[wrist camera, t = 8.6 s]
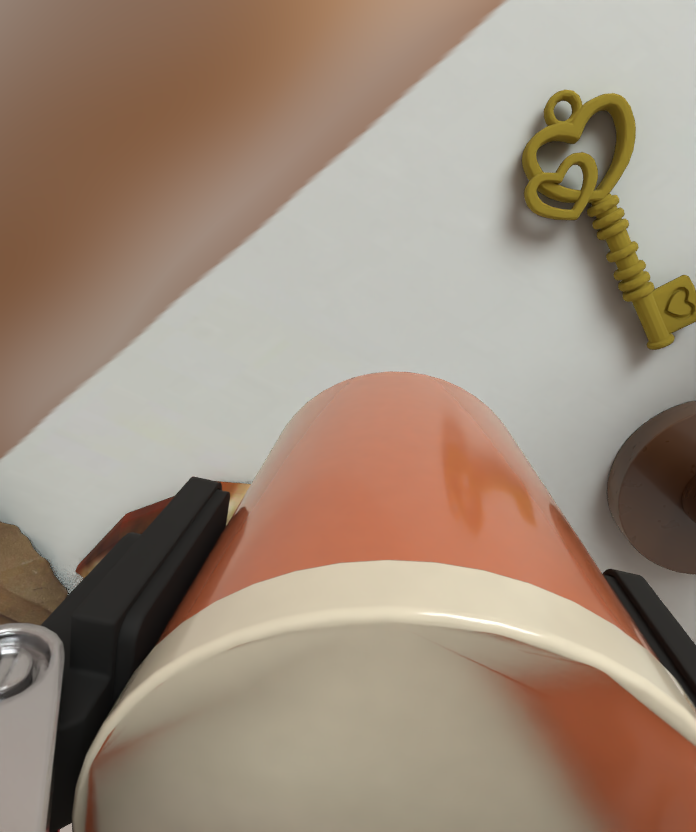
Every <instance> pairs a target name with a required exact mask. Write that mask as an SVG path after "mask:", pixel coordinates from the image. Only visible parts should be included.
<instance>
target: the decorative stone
mask: <svg viewBox="0 0 696 832" xmlns="http://www.w3.org/2000/svg"><path fill="white" fill-rule="evenodd" d="M216 482H219V481H216ZM220 483H221V484H222V490H223V491H227V492H230V501H229V508H228V515H227V522H226V526H227V524H228V522H229V521H230V519H231V517H232V515H233V514H234V512H235V510H236V509H237V507H238V505H239V504H240V502H241V500H242V499H243V497H244V495H245V494H246V492H247V490H248V489H249V487H250V485H251V484H243V483H231V482H220ZM174 497H175V496H174ZM174 497H171V498H168V499H165V500H163V501H160V502H157V503H154V504H152V505H149V506H146V507H144V508H141V509H138V510H135V511H133V512H130V513H127V514H126V515H125V516H124V517H123V518H122V519H121V520H120V521H119V522H118V523H117V524H116V525H115V526H114V527H113V528H112V529H111V531H110V532H109V533H108V534H107V535H106V536H105V537H104V538H103V539H102V540H101V541H100V542H99V543H98V544H97V545H96V546H95V548H94V549H93V550H92V551H91V552H90V553H89V554H88V555H87V556H86V557H85V558H84V559H83V560H82V561H81V562H80V563H79V565H78V566H77V569H76V571H75V572H77V573H78V574H79V575H81V576H82V577H83V578H85V577H86V576H87V575H88V574H89V573H90V572H91V571H92V570H93V568H94V567H95V566H96V565H97V564H98V563H99V562H100V561H101V560H102V559H103V558H104V557H105V556H106V555H107V553H108V552H109V551H110V550H111V549H112V548H113V547H114V546H115V545H116V544H117V543H118V542H119V541H120V540H121V538H122V537H124V536H125V535H126V534H127V533H131V532H133V533H138V534H142V533H143V532H144V531H145V530H146V529H147V527H148V526H149V525H150V524H151V523H152V522H153V521H154V519H155V518H156V517H157V516H158V515H159V514H160V513H161V511H162V510H163V509H164V508H165V507H166V506H167V505H168V503H169V502H170V501H171V500H172V499H173V498H174Z"/></svg>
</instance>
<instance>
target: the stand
mask: <svg viewBox="0 0 696 832" xmlns="http://www.w3.org/2000/svg"><path fill="white" fill-rule="evenodd" d="M607 497H608V505H609V508H610V512H611V515H612V517H613V519H614V521H615V523H616V524H617V526H618V527H619V529H620V530H621V532H622V533H623V534H624V535H625V537H626V538H627V539H628V540H629V542H630V543H631V544H632V545H633V546H634V547H635V549H636V550H637V551H638V552H639V553H641V554H642V555H643V556H644V557H646V558H647V559H648V560H650V561H652V562H653V563H655V564H657V565H659V566H662V567H664V568H666V569H669V570H673V571H676V572H681V573H687V574H696V401H691V402H687V403H684V404H680V405H677V406H675V407H672V408H670V409H668V410H666V411H663V412H662V413H660V414H658V415H656V416H655V417H653V418H651V419H650V420H649V421H647V422H646V423H645V424H643V425H642V426H641V427H640V428H638V429H637V430H636V431H635V432H634V433H633V434H632V435H631V436H630V437H629V439H628V440H627V441H626V442H625V443H624V445H623V446H622V448H621V449H620V451H619V452H618V454H617V456H616V458H615V460H614V462H613V465H612V468H611V470H610V473H609V479H608V485H607Z"/></svg>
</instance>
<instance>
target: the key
mask: <svg viewBox="0 0 696 832" xmlns="http://www.w3.org/2000/svg"><path fill="white" fill-rule="evenodd" d="M560 101H567V102H568V103H569V104H570V105H571V108H572V114H571V116H570V117H569V119H568V120H566V121H559V120H557V119H556V117H555V115H554V112H553V110H554V107H555V105H556V104H557V103H558V102H560ZM605 110H606V111H608V112H609V113H610V115H611V116H612V118H613V121H614V124H615V128H616V146H615V151H614V156H613V159H612V163H611V165H610V167H609V169H608V171H607V173H606V175H605V176H604V178H603V179H602V181H601V182H600V184H599V185H598V187H597V188H596V190H594V189H595V186H596V183H597V179H598V169H597V166H596V163H595V160H594V159H593V158H592V157H591V156H590V155H589V154H586V153H583V152H581V153H573V154H571V155H570V156H568V157H567V158H566V159H564V161H563V162H562V163H561V164H560V166H559V168H558V169H557V171H556V173H544V172H543V171H542V170H541V168H540V166H539V164H538V162H537V159H536V153H537V150H538V149H539V148H540V147H541V146H542V145H544V144H546V143H548V142H553V141H559V142H566V143H570V144H575V143H576V142H577V141H578V140H579V139H580V137H581V134H582V132H583V129H584V127H585V125H586V123H587V122H588V120H589V119H590V118H591V117H592V116H593V115H594V114H595V113H597V112H599V111H605ZM544 119H545V122H546V124H547V125H548V126H547V127H545V128H544V129H542V130H541V131H539V132H538V133H537V134H535V135H534V136H533V137H532V139H531V140H530V141H529V142H528V143H527V145H526V147H525V149H524V151H523V155H522V166H523V169H524V172H525V174H526V176H527V178H528V180H529V182H528V184H527V186H526V187H525V191H524V198H525V202H526V204H527V206H528V207H529V209H530V210H531V211H532V212H533V213H535V214H537V215H539V216H542V217H545V218H550V219H555V220H577V219H578V218H579V216H580V214H581V213H582V211H583V210H584V208H585V207H586V205H587V203H591V205H592V206H591V207H590V208H588V209H587V214H588V216H589V217H594V216H596V218H597V219H595V220H594V221H593V223H592V225H593V228H594V229H596V230H597V229H601V230H599V231H598V232H597V238H598V239H599V240H606V242H607V244H608V247H609V249H610V252H608V253H607V255H606V258H607V261H608V262H615V263H616V265H617V268H618V269H617V270H616V271H615V272H614V274H613V276H614V279H616V280H622V281H621V282H620V283H618V288H619V290H620V291H622V292H624V291H625V292H624V293H623V299H624V300H625V301H627V302H631V301H632V303H633V305H634V308H635V310H636V312H637V315H638V317H639V319H640V322H641V324H642V326H643V329H644V331H645V333H646V336H647V338H648V340H649V341H648V343H647V348H649V349H651V350H657V349H661V348H664V347H666V346H668V345H670V344H671V343H673V341H674V338H675V337H674V336H673V334H671V333H673V332H675V331H677V330H679V329H681V328H683V327H686V326H688V325H690V324H692V323H694V322H696V290H695V287H694V285H693V283H692V282H691V280H690V278H689V276H686V275H682V276H680V277H678V278H676V279H674V280H672V281H670V282H668V283H666V284H664V285H662V286H660V287H658V288H656V289H654V285H653V283H652V282H648V281H649V280H650V275H649V273H648V272H646V271H643V270H644V269H645V268H646V264H645V262H644V261H643V260H638V257H637V255H636V251H637V249H638V244H637V243H636V242H635V241H633V242H631V240H630V238H629V235H628V233H627V230H626V228H628V226H629V222H628V220H626V219H622V217H623V216H624V214H625V213H624V210H623V209H622V208H618V209H617V206H616V205H617V204H618V203H619V198H618V196H617V195H612V196H611V194H610V192H611V190H612V189H613V187H614V186H615V185H616V183H617V182H618V180H619V179H620V177H621V175H622V174H623V172H624V170H625V169H626V167H627V165H628V163H629V161H630V158H631V155H632V152H633V149H634V143H635V133H636V127H635V120H634V116H633V113H632V110H631V107H630V105H629V104H628V102H627V101H626V100H625V98H623V97H622V96H621V95H618V94H614V93H612V94H603V95H600V96H598V97H595V98H593V99H591V100H590V101H588V102H586V103H585V104H584V105H583V106H582V101H581V99H580V96H579V95H578V94H576V93H575V92H574V91H571V90H562V91H559V92H557V93H555V94H554V95H553V96H552V97H551V98H550V99H549V101H548V102H547V104H546V107H545V109H544ZM572 165H578V166H580V167H581V169H582V172H583V184H582V188H581V190H574V189H569V188H565V187H563V186H561V185H559V184H560V183H561V182H562V180H563V178H564V176H565V174H566V172H567V171H568V169H569V168H570V167H571V166H572ZM537 191H538V192H540V193H542V194H543V195H545V196H546V197H548V198H550V199H553V200H556V201H560V202H565V203H575V204H574V206H573V207H572V209H571V210H566V209H559V208H555V207H551V206H549V205H547V204H545V203H543V202H542V201H541V200H540V198H539V197H538V195H537Z"/></svg>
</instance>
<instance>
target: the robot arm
mask: <svg viewBox="0 0 696 832" xmlns="http://www.w3.org/2000/svg"><path fill="white" fill-rule="evenodd" d="M229 501H230V492H227V491H223V490H222V484H221V483H220V482H216V481H211V480H207V479H202V478H198V477H192V478H190V479H189V481H188V482H187V483H186V484H185V485H184V486H183V487H182V489H181V490H180V491H179V492H178V493H177V494H176V495H175V497H174V498H173V499H172V500H171V501H170V502H169V503H168V505H167V506H166V507H165V508H164V509H163V510H162V511H161V513H160V514H159V515H158V516H157V517H156V518H155V519H154V521H153V522H152V523H151V524H150V525H149V526H148V527H147V529H146V530H145V531H144V532H143V533H142V534H138V533H133V532H131V533H127V534H126V535H125V536H124V537H122V538H121V540H120V541H119V542H118V543H117V544H116V545H115V546H114V547H113V548H112V549H111V550H110V551H109V552H108V553H107V555H106V556H105V557H104V558H103V559H102V560H101V561H100V562H99V563H98V564H97V565H96V566H95V567H94V568H93V570H92V571H91V572H90V573H89V574H88V575H87V576H86V577H85V578H84V579H83V580H82V581H81V582H80V583H79V585H78V586H77V587H76V588H75V589H74V590H73V591H72V592H71V593H70V594H69V595H68V596H67V597H66V598H65V600H64V601H63V602H62V603H61V604H60V605H59V606H58V607H57V608H56V609H55V610H54V611H53V612H52V614H51V615H50V616H49V617H48V618H47V619H46V620H45V621H44V622H43V623H42V624H41V625H35V624H30V623H8V624H3V625H0V832H60V829H61V828H63V827H65V826H66V825H68V824H70V823H72V811H73V803H74V796H75V788H76V782H77V779H78V776H79V773H80V770H81V767H82V764H83V761H84V758H85V755H86V752H87V750H88V749H89V747H90V745H91V743H92V742H93V740H94V738H95V736H96V735H97V733H98V731H99V729H100V728H101V726H102V724H103V722H104V721H105V719H106V717H107V716H108V714H109V712H110V711H111V709H112V707H113V706H114V704H115V703H116V701H117V699H118V698H119V696H120V694H121V693H122V691H123V689H124V688H125V686H126V684H127V683H128V681H129V680H130V678H131V676H132V675H133V673H134V671H135V670H136V669H137V668H138V667H139V665H140V664H141V663H142V662H143V661H144V659H145V658H146V657H147V656H148V654H149V653H150V652H151V651H152V650H153V648H154V647H155V645H156V643H157V642H158V640H159V638H160V637H161V635H162V633H163V631H164V630H165V628H166V626H167V625H168V623H169V621H170V620H171V618H172V616H173V615H174V613H175V611H176V610H177V608H178V606H179V605H180V603H181V601H182V600H183V598H184V596H185V594H186V593H187V591H188V589H189V588H190V586H191V584H192V583H193V581H194V579H195V578H196V576H197V574H198V573H199V571H200V569H201V568H202V566H203V564H204V563H205V561H206V559H207V557H208V556H209V554H210V552H211V551H212V549H213V547H214V546H215V544H216V542H217V541H218V539H219V537H220V536H221V534H222V532H223V531H224V529H225V527H226V522H227V515H228V508H229ZM603 575H604V577H605V578H606V580H607V581H608V583H609V585H610V586H611V588H612V589H613V591H614V592H615V594H616V595H617V597H618V598H619V600H620V601H621V603H622V604H623V606H624V607H625V609H626V610H627V612H628V613H629V615H630V616H631V618H632V619H633V621H634V623H635V624H636V626H637V627H638V629H639V630H640V632H641V633H642V635H643V636H644V638H645V639H646V641H647V642H648V644H649V645H650V647H651V648H652V650H653V651H654V653H655V654H656V656H657V657H658V659H659V661H660V662H661V664H662V665H663V666H664V667H665V668H666V669H667V670H668V671H669V672H670V673H671V674H672V675H673V676H674V677H675V678H676V680H677V681H678V682H679V684H680V685H681V686H682V688H683V689H684V691H685V692H686V694H687V695H688V696H689V698H690V699H691V701H692V702H693V703H694V705H695V706H696V645H695V644H694V642H693V641H692V640H691V638H690V637H689V636H688V635H687V633H686V632H685V631H684V629H683V628H682V627H681V626H680V624H679V623H678V622H677V620H676V619H675V618H674V617H673V615H672V614H671V613H670V611H669V610H668V609H667V608H666V606H665V605H664V604H663V602H662V601H661V600H660V598H659V597H658V596H657V595H656V593H655V592H654V591H653V589H652V588H651V587H650V586H649V584H648V583H647V582H646V580H645V579H644V578H643V577H642V576H640V575H636V574H631V573H627V572H622V571H618V570H613V569H608V570H606V571H605V572H604V573H603Z"/></svg>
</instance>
